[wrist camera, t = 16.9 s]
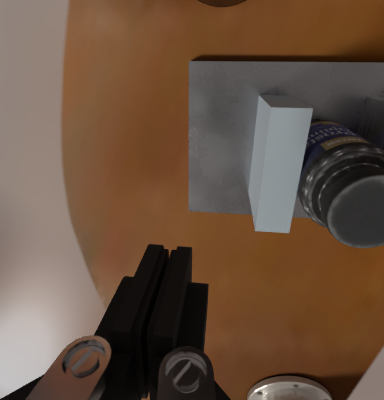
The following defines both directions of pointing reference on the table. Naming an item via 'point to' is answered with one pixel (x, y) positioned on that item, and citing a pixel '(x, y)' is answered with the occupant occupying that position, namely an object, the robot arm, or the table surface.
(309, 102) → the vise base
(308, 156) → the pill bottle
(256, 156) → the sliding jaw
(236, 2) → the water bottle
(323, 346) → the table surface
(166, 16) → the table surface
